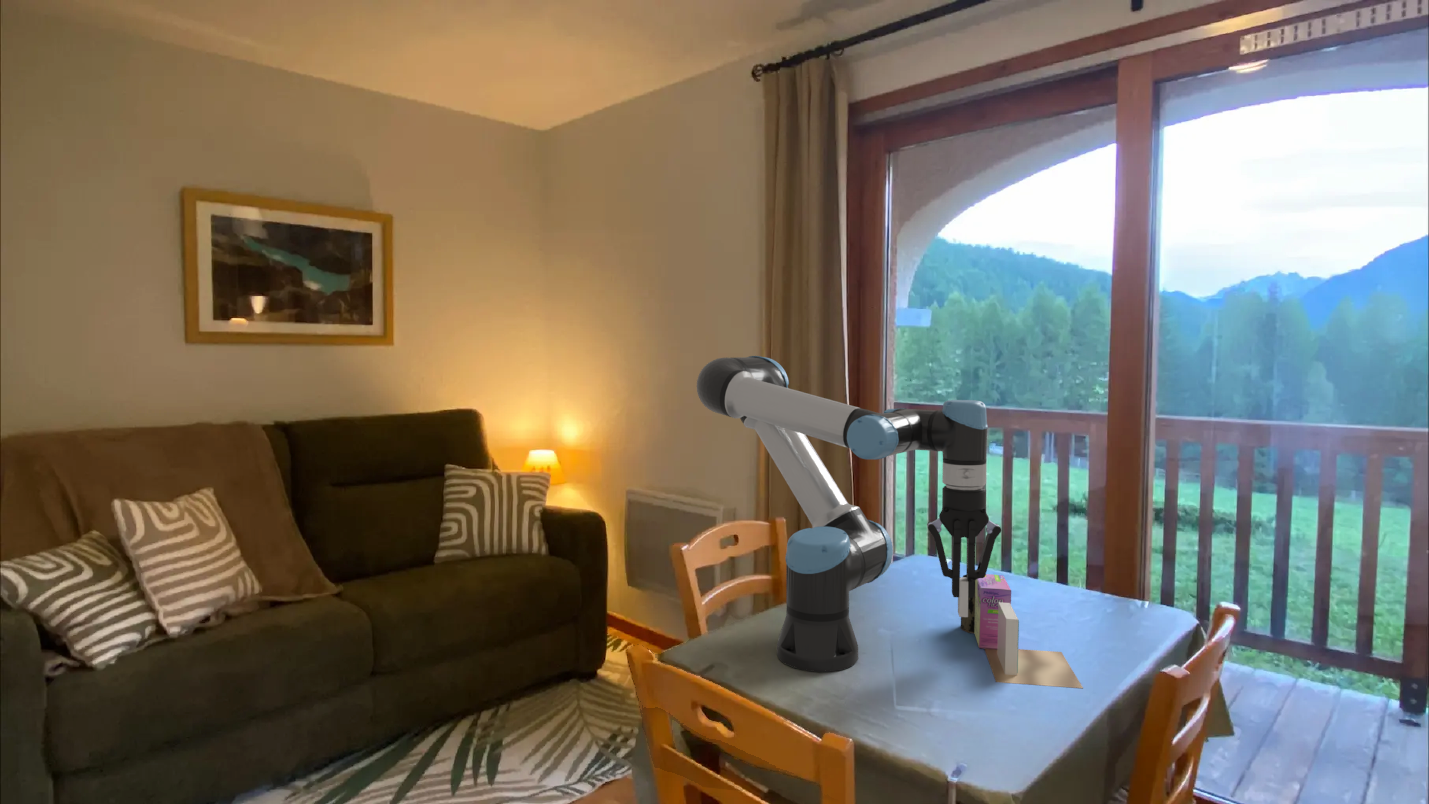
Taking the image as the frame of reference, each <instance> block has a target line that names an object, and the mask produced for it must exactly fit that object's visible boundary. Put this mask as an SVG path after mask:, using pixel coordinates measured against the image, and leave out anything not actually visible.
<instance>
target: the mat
mask: <svg viewBox="0 0 1429 804" xmlns="http://www.w3.org/2000/svg"><path fill="white" fill-rule="evenodd" d="M983 649H984V648H983ZM984 653H985V655H986V657H987V658H986V659H987V661H988V663H989V667H990V669H991V672H992V675H993V677H994V680H995V683H1001V684H1016V685H1017V684H1018V685H1028V686H1043V687H1056V688H1071V689H1084V687H1083V685H1082V684H1081V682H1080V680H1079V679H1078V677H1077V675H1076V673H1075V672H1074V670H1073V669H1072V667H1071V665H1070V664H1069V662H1068V660H1067V658H1066V657H1065V655H1064V654H1063V652H1062V651H1052V650H1051V651H1050V650H1038V649H1036V650H1035V649H1023V648H1021V649H1020V648H1018V673H1017V675H1006V674H1005V673H1004V670H1003V668H1002V665H1001V663H1000V660H999V658H998V655H997V650H995V649H984Z"/></svg>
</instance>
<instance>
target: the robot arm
mask: <svg viewBox="0 0 1429 804" xmlns="http://www.w3.org/2000/svg"><path fill="white" fill-rule="evenodd" d="M789 384H790V382H789V377H788V375H787V373H786V370H785V369H784V368H783V366H782V365H781V364H780V363H778V362H777V361H776V360H775V359H772V358H770V357H765V356H760V355H750V356H746V357H738V356H737V357H719V358H716V359H713V360H711V361H709V362H708V363H707V364H705V365H704V366H703V367H702V369H701V370H700V372H699V374H698V375H697V379H696V394H697V395H698V396H697V397H698V399H699V400H700V403H702V405H703V406H705V408H706V409H707V410H709V411H711V412H714V413H716V414H720V415H721V416H722V415H723V416H726V417H729V418H732V419H740V420H741V423H742V424H743V426H744V427H745V428H747V429H752V430H755V433H757V435H758V437H759V438H760V440H761V442H762V445H764V447H765V449H766V450H767V452H768V454H769V456H770V457H771V460H773V462H774V464H775V466H776V467H777V469H778V470H779V472H780V473H781V475H782V477H783V479H784V480H785V482H786V484H787V485H788V487H789V490H791V492H792V494H793V495H794V497H795V499H796V500H797V502H798V504H799V505H800V507H801V509H802V510H803V512H804V514H805V515H806V517H807V519H808V520H809V522H810V524H811V526H812V527H811V528H810V527H808V528H807V527H806V528H803V529H800V530H797V531H796V532H794V533H793V534H792V535H791V536H790V537H789V538H788V541H787V544H786V553H785V564H786V566H785V567H786V568H785V569H786V572H785V573H786V574H785V576H786V584H785V586H786V587H785V588H786V590H785V591H786V600H785V601H786V614H785V618H784V620H783V623H782V626H781V630H780V633H779V636H778V639H777V643H776V656H777V659H778V660H780V662H781V663H783V664H785V665H786V666H788V667H792V668H794V669H797V670H801V671H807V672H817V673H819V672H820V673H822V672H823V673H824V672H837V671H842V670H845V669H848V668H851V667H852V666H854V665H855V664H856V663H857V662H858V661H859V645H858V642H857V638H856V635H855V631H854V628H853V625H852V623H851V619H850V592H851V591H853V590H855V589H857V588H859V587H861V586H863V585H866V584H869V583H873V582H874V581H875V580H878V578H880V577H881V576H882V575H883V574H885V573H886V572H887V570H888V569H889V568H890V566H891V564H892V559H893V555H894V549H893V542H892V538H891V537H890V534H889V533H888V531H887V529H885V527H884V526H883V525H881V524H880V523H879V522H878V523H877V522H876V521H875V522H874V521H873V520H871V519H867V517H866V515H865V514H864V512H863V510H862V509H861V508H860V506H857V505H854V504H850V503H849V502H848V501H847V499H846V498H845V496H844V494H843V493H842V491H841V489H840V488H839V486H838V485H837V483H836V482H835V480H834V479H833V476H832V475H831V474H830V472H829V470H828V469H827V466H825V464H824V462H823V460H822V459H821V457H820V455H819V454H818V453H817V450H816V449H815V448H814V447H813V445H812V443H811V442H810V440H809V438H808V437H812V438H815V439H818V440H821V441H825V442H828V443H831V444H835V445H838V446H840V447H844V448H847V449H850V450H851V452H853V454H854V455H856V456H857V457H858V458H859V459H863V460H881V459H884V458H887V457H890V456H894V455H897V454H902V453H907V452H910V451H933V452H942V453H941V454H942V478H941V479H942V483H943V484H944V486H943V487H942V492H941V493H942V497H941V499H942V500H941V501H942V502H941V503H942V505H941V506H942V508H941V511H940V513H939V516H938V518H937V519H935V520H934V521H929V522H927V524H926V526H927V529H928V531H929V533H930V534H931V535H932V537H933V539H934V545H935V549H936V553H937V557H938V561H939V565H940V570H941V573H942V576H943V577H946V578H950V579H951V594H952V597H953V598H957V614H958V617H960V618H961V617H968V598H973V597H974V589H975V580H976V579H979V578H984V577H985V575H986V574H987V571H988V567H989V565H990V561H991V556H992V553H993V549H994V545H995V543H996V539H997V538H998V536H999V535H1000V534H1001V532H1002V528H1001V526H1000V525H999V524H998V523H995V522H993V521H992V520H990V517H989V515H988V513H987V489H986V488H985V487H984V486H985V485H986V484H987V445H988V443H987V440H988V428H989V424H988V421H987V420H988V416H987V415H988V414H987V406H986V404H985V403H984V402H983V401H981V400H975V399H949V400H946V401H944V402H943V405H942V409H941V410H933V409H932V410H931V409H930V410H928V409H915V408H913V409H912V408H906V407H901V408H898V407H897V408H888V409H886V410H884V411H883V413H880V412H877V411H876V412H875V411H874V410H873V411H872V410H869V409H865V408H861V407H858V406H854V405H850V404H847V403H843V402H840V401H836V400H832V399H830V398H826V397H825V398H824V397H822V396H817V395H814V394H811V393H806V392H805V391H804V392H803V391H799V390H797V389H792V388H789ZM942 525H943V526H944V528H945V530H946V531H947V532H948V534H949V535H950V536H951V568H949V565H948V561H947V557H946V552H945V548H944V546H943V540H942V537H941V532H942ZM984 528H985V532H986V535H985V536H986V537H985V538H984V542H983V546H982V550H981V553H980V557H979V560H978V565H977V568H976V544H977V543H976V540H977V539H976V537H978V536H979V535H980V533H981V532H982V531H983V530H984ZM963 538H965V539H966V571H965V572H966V574H967V578H965V577H963V576H962V577H961V542H962V541H961V540H962V539H963ZM966 574H965V575H966Z"/></svg>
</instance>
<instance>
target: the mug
mask: <svg viewBox="0 0 1429 804" xmlns="http://www.w3.org/2000/svg"><path fill="white" fill-rule="evenodd" d="M962 577H965V578H967V574H964V575H962ZM974 626H975V589H974V597H973V598H968V617H960V629H961V630H962V631H964V632H965V633H969V634H974ZM974 635H975V634H974Z"/></svg>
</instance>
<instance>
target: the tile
mask: <svg viewBox="0 0 1429 804" xmlns="http://www.w3.org/2000/svg"><path fill="white" fill-rule="evenodd" d="M1019 626H1020V621H1019V618H1018V617H1017V614H1016V611H1015V609H1013V607H1012V603H1011V604H1010V603H1003V602H998V645H997V655H998V658H999V660H1000V663H1001V665H1002V668H1003V670H1004V673H1005V674H1006V675H1017V673H1018V649H1019V637H1020V636H1019V634H1020V627H1019Z"/></svg>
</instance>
